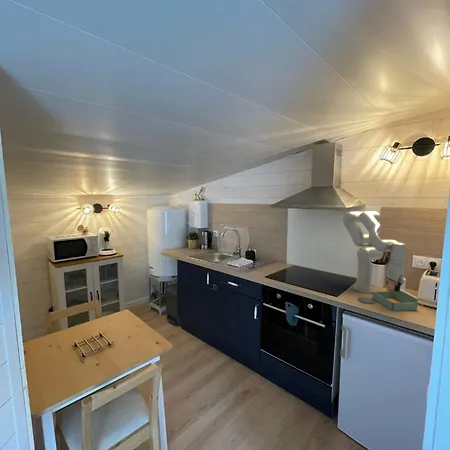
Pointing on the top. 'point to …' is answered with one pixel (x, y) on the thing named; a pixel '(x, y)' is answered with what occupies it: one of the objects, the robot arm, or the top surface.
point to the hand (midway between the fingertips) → (393, 288)
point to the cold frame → (407, 299)
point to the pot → (391, 285)
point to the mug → (403, 285)
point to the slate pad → (366, 300)
